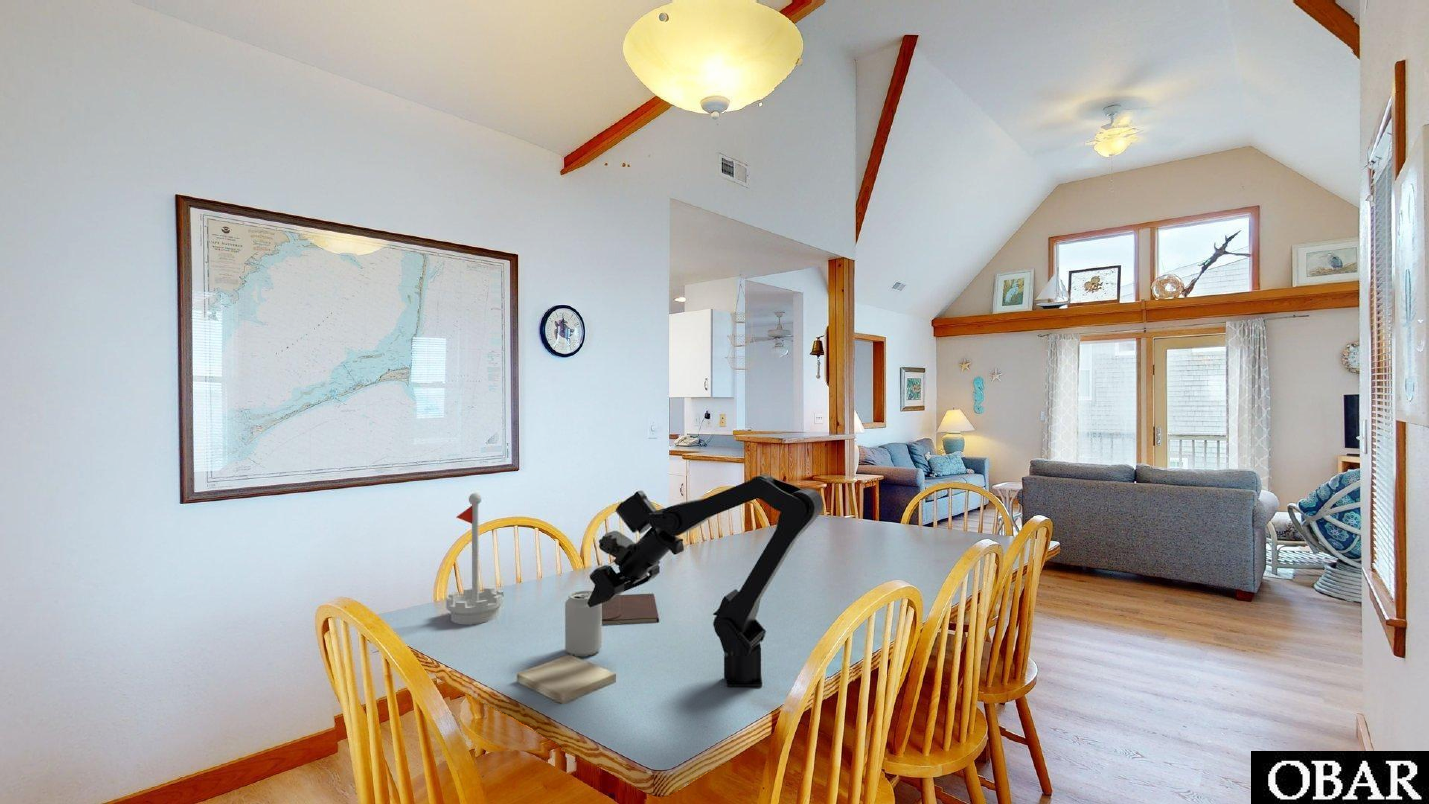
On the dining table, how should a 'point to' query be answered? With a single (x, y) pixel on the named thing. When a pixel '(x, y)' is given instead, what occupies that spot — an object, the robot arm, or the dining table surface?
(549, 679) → the board
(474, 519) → the flag stand
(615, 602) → the notebook
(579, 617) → the can
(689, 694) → the dining table surface
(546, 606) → the dining table surface
